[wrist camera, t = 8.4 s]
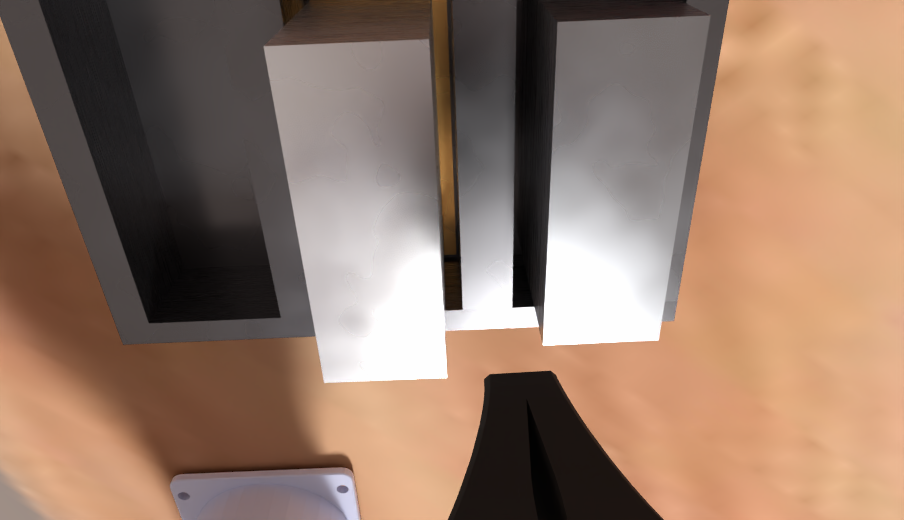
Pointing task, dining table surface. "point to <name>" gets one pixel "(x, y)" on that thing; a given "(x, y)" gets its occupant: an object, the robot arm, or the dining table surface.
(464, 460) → the dining table surface
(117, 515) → the dining table surface
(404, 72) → the block
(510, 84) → the rack
